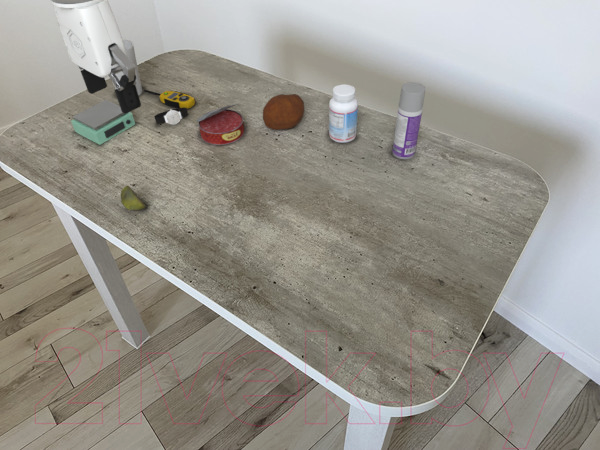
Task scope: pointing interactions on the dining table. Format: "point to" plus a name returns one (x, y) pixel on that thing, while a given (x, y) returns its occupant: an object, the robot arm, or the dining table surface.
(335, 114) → the pill bottle
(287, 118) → the potato
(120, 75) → the cup
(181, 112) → the watch
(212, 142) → the canned food
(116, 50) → the robot arm
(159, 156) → the dining table surface
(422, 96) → the container
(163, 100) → the yellow walkie talkie
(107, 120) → the scale pan
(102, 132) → the scale
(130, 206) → the lime
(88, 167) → the dining table surface
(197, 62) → the dining table surface
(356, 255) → the dining table surface
